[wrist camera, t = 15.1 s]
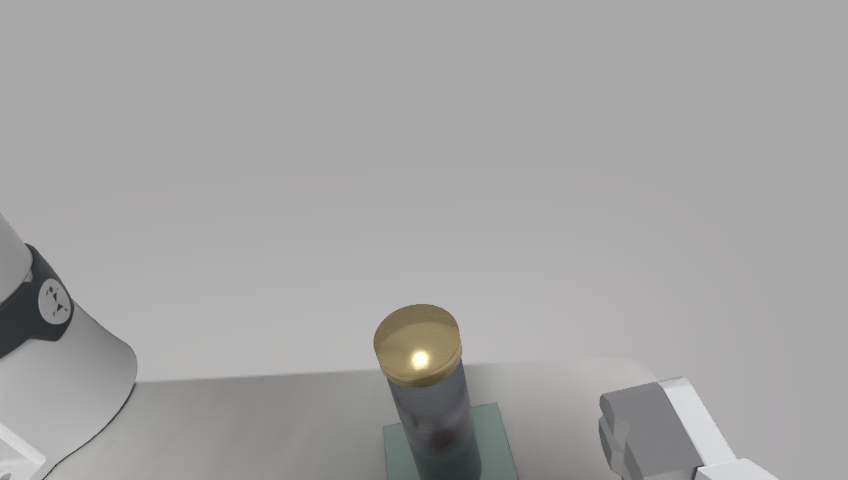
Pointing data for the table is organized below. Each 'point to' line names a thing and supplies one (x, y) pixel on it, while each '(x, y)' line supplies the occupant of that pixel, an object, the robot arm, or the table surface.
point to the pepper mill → (430, 390)
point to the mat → (490, 439)
